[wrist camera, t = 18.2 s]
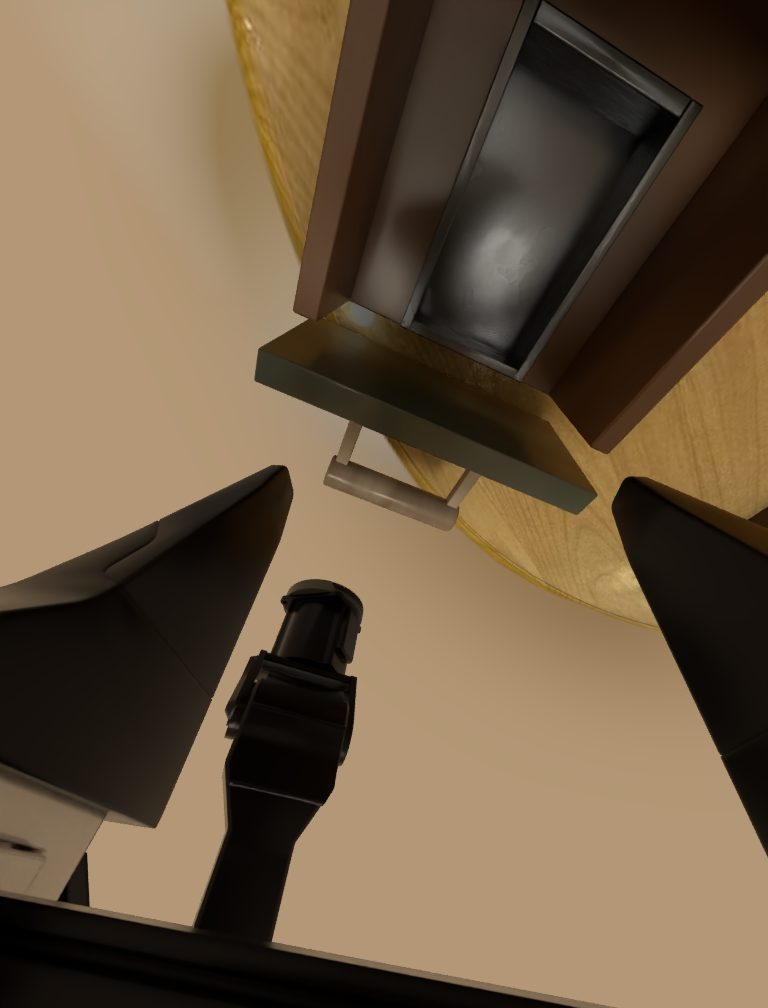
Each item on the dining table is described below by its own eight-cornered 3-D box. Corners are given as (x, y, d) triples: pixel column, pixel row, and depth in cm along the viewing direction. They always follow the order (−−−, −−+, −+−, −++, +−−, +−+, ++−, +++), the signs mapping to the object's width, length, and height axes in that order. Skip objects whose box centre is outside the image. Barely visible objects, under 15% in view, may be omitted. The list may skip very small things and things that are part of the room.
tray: (509, 366, 16) (521, 383, 14) (403, 315, 15) (399, 326, 13) (655, 131, 11) (705, 104, 9) (509, 38, 10) (528, -13, 8)
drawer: (487, 501, 22) (505, 584, 17) (291, 421, 20) (239, 486, 15) (884, -7, 9) (1489, -347, 4) (466, -353, 7) (557, -1911, 2)
